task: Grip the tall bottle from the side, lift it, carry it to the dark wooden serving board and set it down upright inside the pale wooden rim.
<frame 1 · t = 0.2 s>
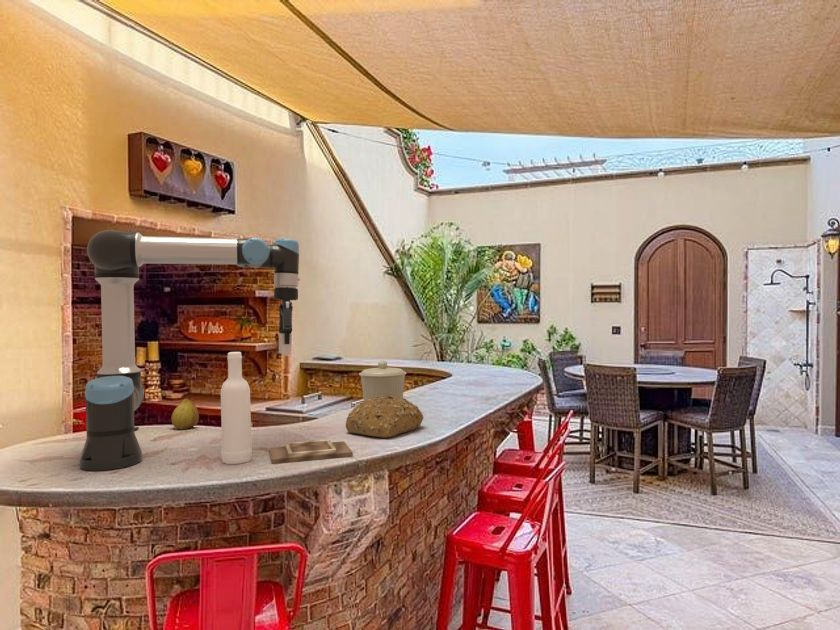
hand: (284, 354, 186), 27 cm above the table, tool pointing down, fingers open, 13 cm apart
canister: (383, 416, 224), on the table
fruit: (185, 428, 207), on the table
bread: (383, 431, 197), on the table
hatchet: (119, 438, 196), on the table
bottle: (237, 461, 162), on the table
serving board: (310, 454, 168), on the table
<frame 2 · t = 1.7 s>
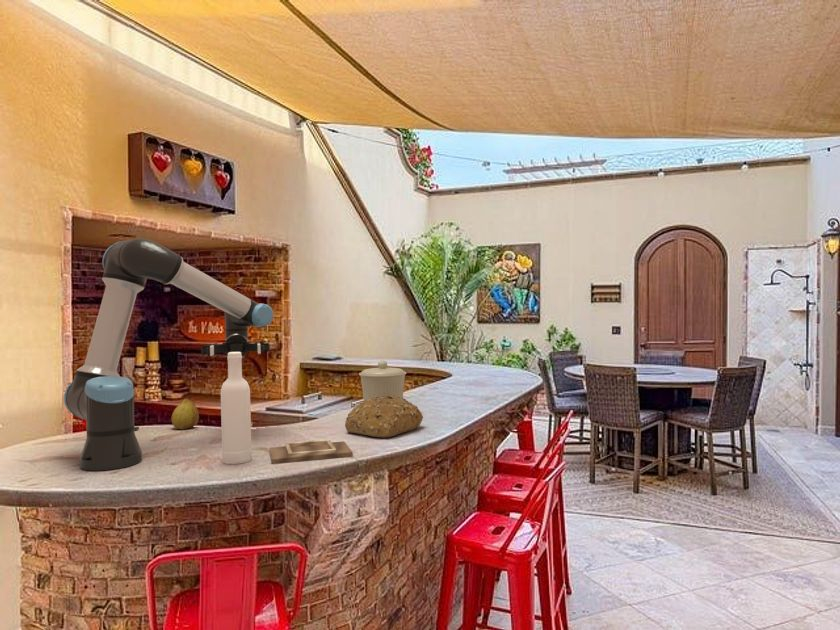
hand: (235, 350, 174), 30 cm above the table, tool horizontal, fingers open, 13 cm apart
nothing on the table moved.
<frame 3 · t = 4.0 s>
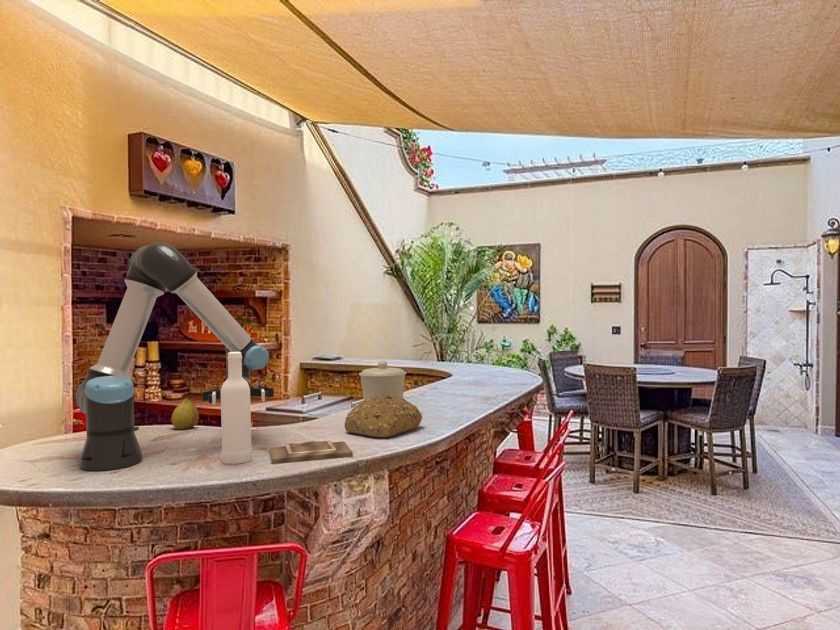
hand: (238, 398, 167), 16 cm above the table, tool horizontal, fingers open, 13 cm apart
nothing on the table moved.
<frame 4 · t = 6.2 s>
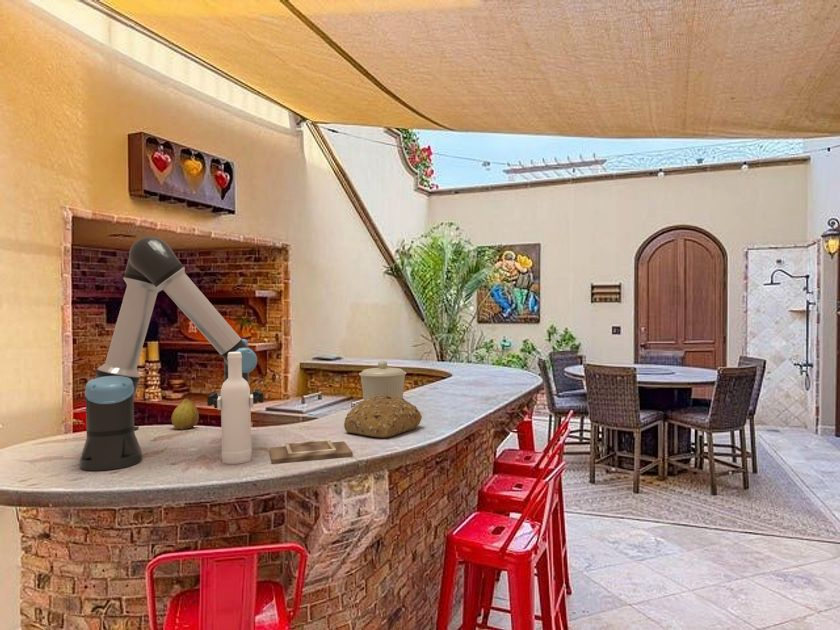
hand: (235, 403, 157), 16 cm above the table, tool horizontal, fingers closed on bottle, 8 cm apart
bottle: (237, 461, 162), on the table, touching gripper
everything else where it was.
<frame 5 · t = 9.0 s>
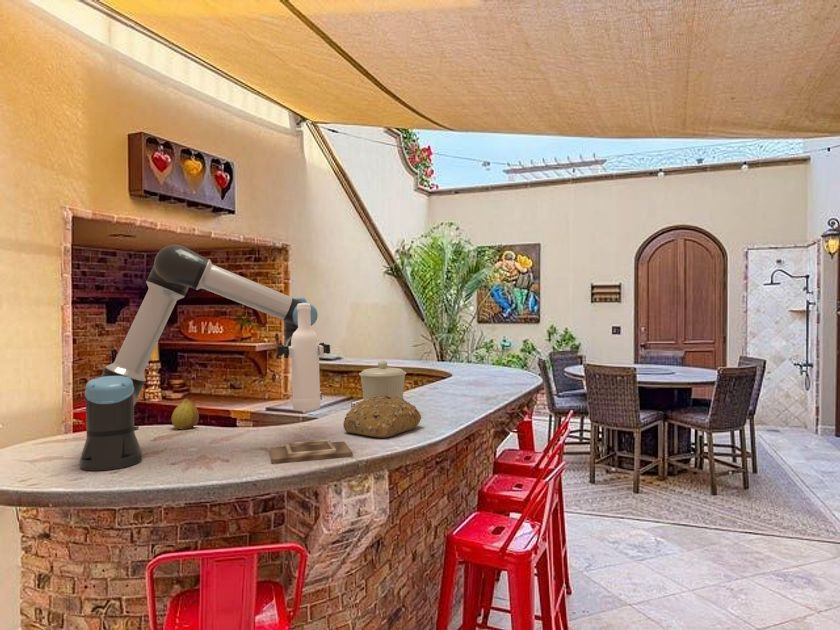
hand: (306, 352, 162), 30 cm above the table, tool horizontal, fingers closed on bottle, 8 cm apart
bottle: (306, 409, 167), point 13 cm above the table, touching gripper
when the fingers open (19 cm above the table, at t = 11.9 s): bottle drops 1 cm, resting on serving board.
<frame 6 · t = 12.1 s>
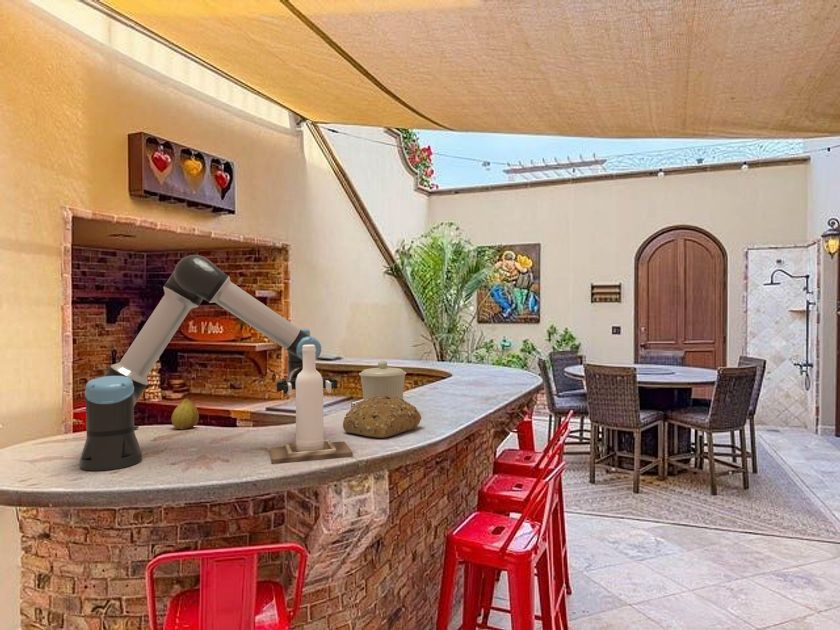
hand: (310, 389, 163), 19 cm above the table, tool horizontal, fingers open, 10 cm apart
bottle: (310, 450, 168), point 1 cm above the table, touching serving board
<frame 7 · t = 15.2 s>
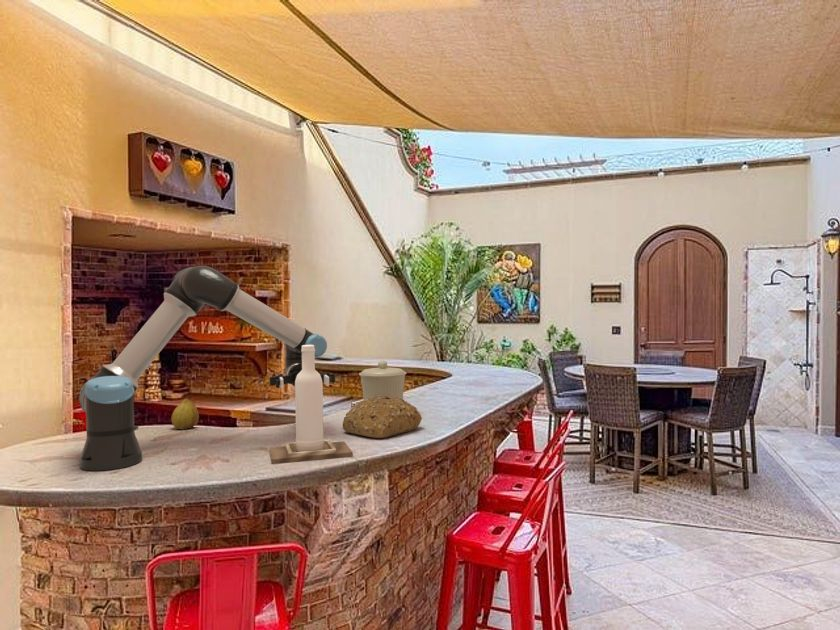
hand: (305, 382, 176), 19 cm above the table, tool horizontal, fingers open, 13 cm apart
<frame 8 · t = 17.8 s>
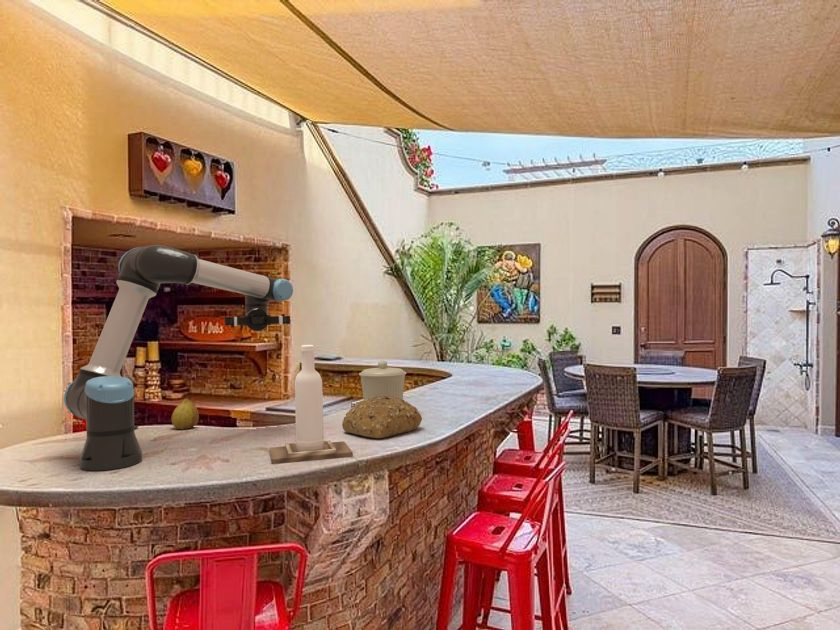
hand: (258, 321, 180), 38 cm above the table, tool horizontal, fingers open, 13 cm apart
at the end: bottle 0.0 cm off-centre on the serving board, point 1.0 cm above the serving board's base; bottle tilted 0°; the gripper is holding nothing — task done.
